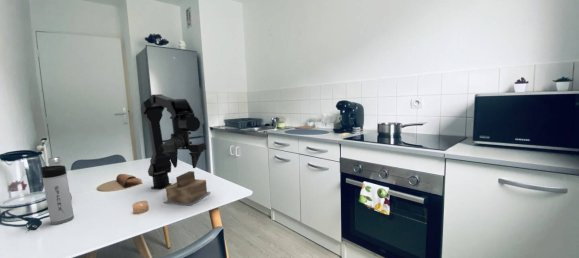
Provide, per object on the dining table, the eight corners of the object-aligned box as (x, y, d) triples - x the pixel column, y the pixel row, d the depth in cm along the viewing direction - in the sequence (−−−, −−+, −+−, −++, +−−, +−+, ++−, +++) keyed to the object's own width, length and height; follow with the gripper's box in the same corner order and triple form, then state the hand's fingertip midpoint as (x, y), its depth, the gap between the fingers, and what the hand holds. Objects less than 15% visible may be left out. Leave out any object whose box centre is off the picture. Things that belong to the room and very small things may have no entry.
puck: (130, 213, 94) (129, 205, 94) (141, 207, 99) (140, 200, 98) (140, 214, 93) (139, 206, 92) (151, 208, 97) (150, 201, 97)
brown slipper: (144, 183, 128) (135, 173, 125) (131, 193, 125) (121, 184, 121) (134, 176, 141) (125, 168, 138) (122, 186, 137) (113, 177, 134)
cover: (167, 201, 102) (164, 177, 101) (185, 191, 113) (183, 169, 112) (190, 203, 99) (187, 179, 98) (207, 192, 110) (204, 170, 108)
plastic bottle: (76, 202, 107) (69, 156, 105) (57, 209, 101) (49, 160, 98) (66, 201, 109) (58, 155, 107) (47, 208, 103) (38, 159, 100)
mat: (163, 203, 102) (163, 202, 102) (185, 191, 114) (185, 190, 114) (191, 205, 98) (191, 204, 98) (210, 192, 110) (210, 192, 110)
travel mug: (59, 217, 94) (50, 164, 91) (78, 215, 94) (69, 163, 92) (44, 225, 88) (34, 169, 85) (65, 223, 88) (55, 167, 86)
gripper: (146, 133, 98) (150, 172, 100) (187, 133, 92) (191, 174, 95) (167, 129, 108) (171, 165, 110) (205, 128, 103) (208, 166, 105)
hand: (184, 167), depth 105 cm, fingers open, 9 cm apart
